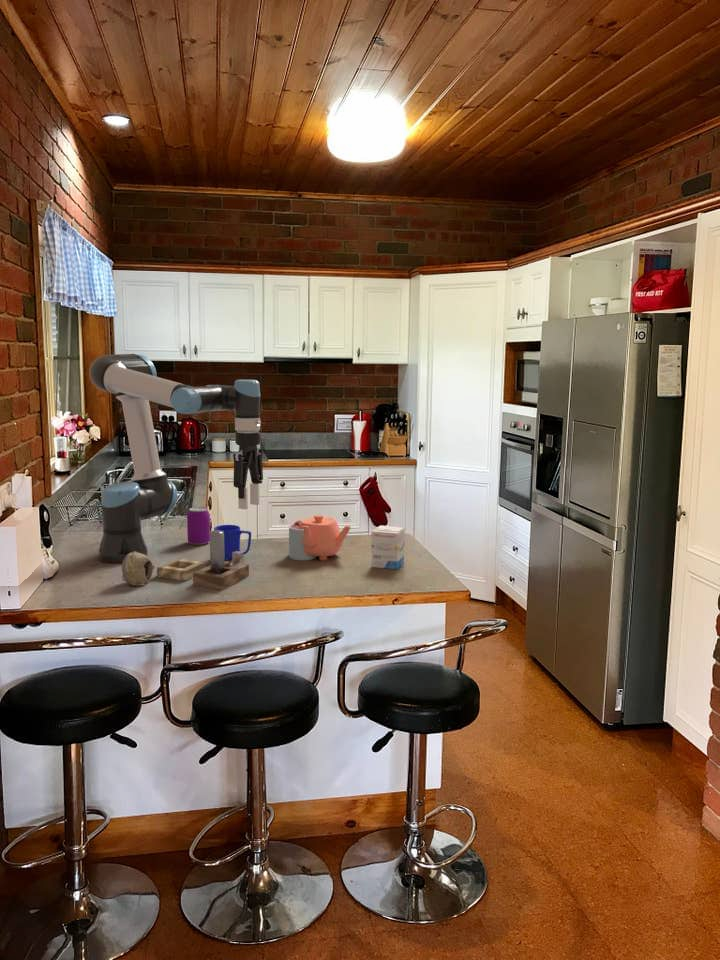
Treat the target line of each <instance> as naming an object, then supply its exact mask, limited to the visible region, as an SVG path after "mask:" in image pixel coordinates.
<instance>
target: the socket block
mask: <svg viewBox="0 0 720 960" xmlns="http://www.w3.org/2000/svg"><path fill="white" fill-rule="evenodd" d="M249 565H250V564H248V563H244V564H241V563H238V564H236V565H234V566H232V567H230V568H229V566H231V561H228V560H225V573H223V574H214V573H211V565H210V564H209V565H208V566H207V565H206V566H205V568H203V569H201V570H199V571H197V572H194V573H193V578H192V579H193V580H192V584H193V586H197V585H199V586H198V587H203V586H205V588H210V589H217V590H226V589H227V588H229V587H231V586H233V585H235V584H236V583H238V582H240V581H242V580H245V579H246V578H248V577H249V576H250V570H249V569H250V566H249Z"/></svg>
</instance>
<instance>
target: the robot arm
mask: <svg viewBox="0 0 720 960" xmlns="http://www.w3.org/2000/svg"><path fill="white" fill-rule="evenodd" d="M88 371H89V372H88V374H89V379H90V381H91V384H93V386H94V387H95V388H96V389H98V390H101V391H103V392H106V393H109V394H115V398H116V399H117V400H118V401H120V402H121V405H122V411H123V417H124V422H125V427H126V428H125V429H126V433H127V437H128V438H127V439H128V444H129V450H130V455H131V460H132V467H133V472H134V474H133V476H132V477H131V479H130V481H122V482H116V483H111V484H109V485H107V486H105V487H104V488H103V489H102V491H101V500H100V503H101V504H100V505H101V515H102V516H101V518H102V538H101V541H100V544H99V545H100V546H99V548H98V554H97V555H98V560H99V561H101V562H104V563H114V564H115V563H117V564H118V563H121V564H122V563H123V560H124V558H125V557H126V556H127V555H128V554H129V553H133V552H134V551H135V552H138V553H141V554H144V555H146V556H147V557H148V552H149V551H148V546H147V545H146V542H145V539H144V535H143V534H142V521H144V520H145V521H146V520H148V519H152V518H155V517H162V516H163V515H166V514H169V513H170V512H171V511H173V509H174V508H175V506H176V504H177V501H178V490H177V486H176V485H175V484H174V483H173V482H172V480H170V479H168V476H167V473H166V472H164V471H163V470H162V469H161V467H162V466H161V464H160V457H159V451H158V446H157V439H156V434H155V427H154V423H153V416H152V412H151V406H150V405H151V404H150V402H153V403H156V404H159V405H162V406H163V405H164V406H166V407H170V408H173V410H174V412H176V413H178V414H181V415H193V414H199V413H206V412H217V411H233V412H234V430H235V431H236V432H235V434H234V436H235V442H234V443H235V444H236V446H237V445H238V447H239V448H238V452H237V453H233V454H232V457H233V481H232V482H233V487H234V488H237V496H238V497H237V498H238V502H237V503H238V509H239V510H248V487H246V486H247V481H248V472H249V475H250V481H251V483H249V492H250V493H249V504H250V505H253V506H254V505H255V506H259V505H260V491H259V490H260V484H262V483H263V480H264V474H263V473H264V471H263V452H264V451H263V448H258V446H259V445H261V443H262V442H261V440H262V439H261V432H260V430H261V423H262V422H261V387H260V382H259V381H258V380H257V379H236V380H235V381H234V384H233V385H224V384H222V385H221V384H208V385H205V386H204V385H203V386H193V385H192V386H191V385H188V384H185V383H184V384H183V383H181V382H177V381H173V380H170V379H166V378H162V377H159V376H157V369H156V367H155V365H154V362H152V360H151V359H149V358H148V357H147V356H145V355H143V354H135V353H124V354H123V353H121V354H104V355H100V356H98V357H97V358H95V359H94V360H93V362H91V364H90V366H89V370H88Z"/></svg>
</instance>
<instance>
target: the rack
mask: <svg viewBox="0 0 720 960" xmlns="http://www.w3.org/2000/svg"><path fill="white" fill-rule="evenodd" d="M205 567H206V562H205V561H199V560H191V559H186V558H185V559H184V558H178V557H177V558H175V559H173V560H169V561H167V562H165V563H163V564H161V565H158V566H157V567H156V577H157V576H160V577H159V578H162V577H167V578H166V579H168V578H173V579H172V580H175V579H179V580H178V581H181V580H185V581H184V582H187V581H189V580H191V579H193V578H192V577H193V573H194V572H197V571H199V570H201V569H203V568H205ZM186 580H187V581H186Z"/></svg>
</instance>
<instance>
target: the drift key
mask: <svg viewBox="0 0 720 960" xmlns="http://www.w3.org/2000/svg"><path fill="white" fill-rule="evenodd" d="M240 551H241V550H240ZM240 551H235V552H233V553H232V564H230V566H229V568H230V567H232V566H234V565H236V564H238V563H241V564H245V563H244V559H245V557H244V555H245V554H243V552H244V551H241V552H240Z"/></svg>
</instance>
